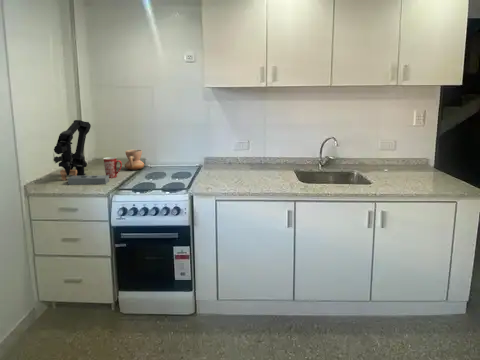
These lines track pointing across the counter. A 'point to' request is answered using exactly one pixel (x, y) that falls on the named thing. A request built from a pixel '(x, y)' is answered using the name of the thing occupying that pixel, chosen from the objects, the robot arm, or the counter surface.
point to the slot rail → (88, 180)
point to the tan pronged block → (63, 174)
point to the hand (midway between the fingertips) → (69, 174)
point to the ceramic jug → (134, 160)
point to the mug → (111, 166)
